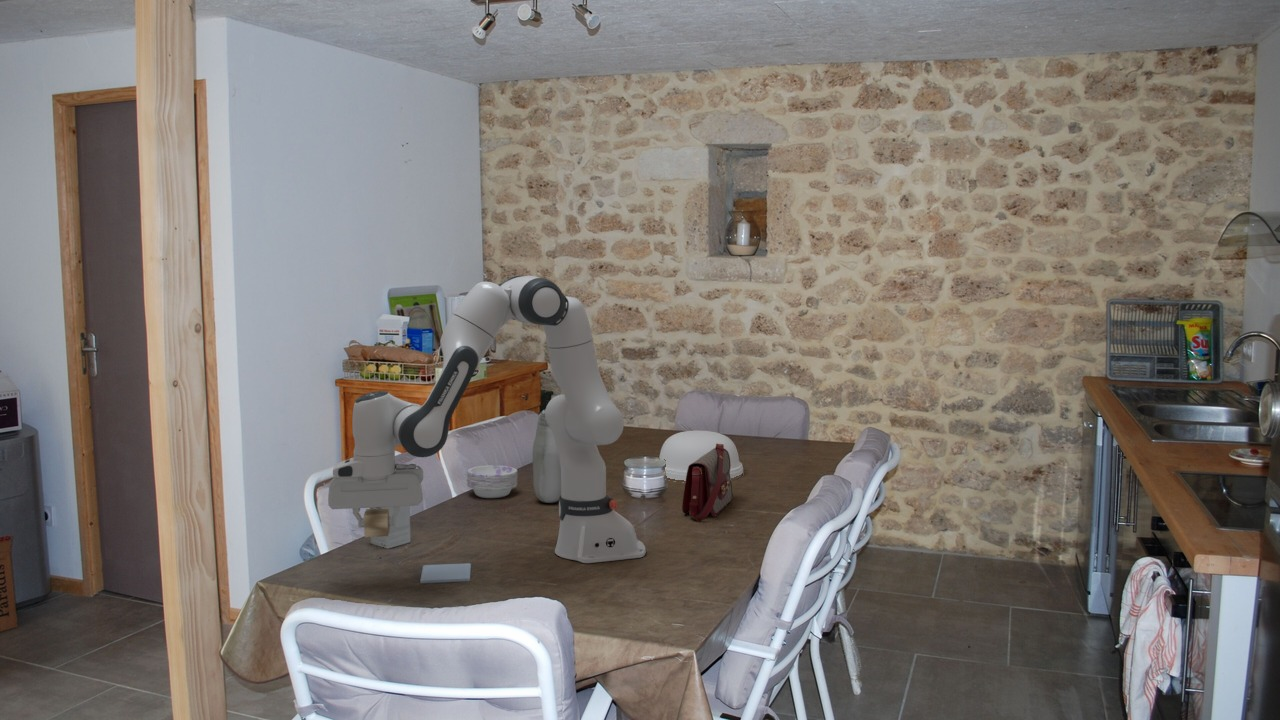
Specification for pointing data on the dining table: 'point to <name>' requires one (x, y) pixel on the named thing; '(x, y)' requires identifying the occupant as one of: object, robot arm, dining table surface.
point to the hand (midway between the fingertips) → (377, 526)
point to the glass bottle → (546, 463)
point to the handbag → (708, 484)
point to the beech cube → (376, 522)
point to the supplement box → (395, 529)
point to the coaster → (446, 573)
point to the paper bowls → (492, 480)
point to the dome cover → (695, 452)
